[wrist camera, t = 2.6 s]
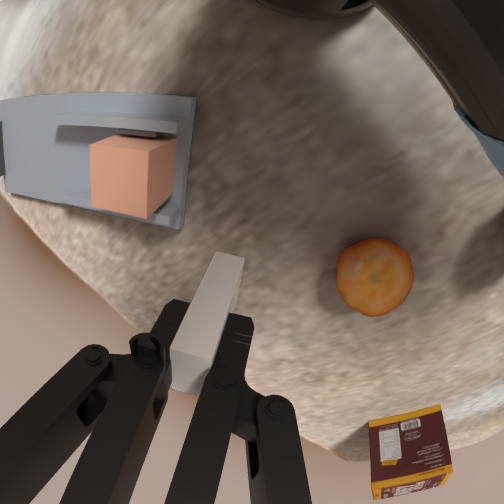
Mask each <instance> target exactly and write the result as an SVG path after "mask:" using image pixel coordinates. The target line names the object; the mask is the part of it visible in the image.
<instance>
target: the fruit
mask: <svg viewBox="0 0 504 504" xmlns="http://www.w3.org/2000/svg"><path fill="white" fill-rule="evenodd" d="M413 280H414V274H413V267H412V262H411V258H410V256H409V255H408V253H407V252H406V251H405V250H404V249H403V248H401V247H400V246H399V245H397V244H396V243H394V242H391V241H389V240H387V239H384V238H371V239H366V240H362V241H360V242H358V243H356V244H354V245H352V246H349V247H347V248H345V249H344V250H343V252H342V253H341V254H340V256H339V258H338V263H337V276H336V284H337V289H338V290H339V292H340V294H341V296H342V299H343V300H344V302H345V303H346V304H347V305H348V306H350V307H351V308H354V309H356V310H357V311H359V312H360V313H362V314H364V315H366V316H369V317H375V316H381V315H383V314H386V313H388V312H390V311H392V310H393V309H395V308H397V307H398V306H399V305H400V304H402V303H403V301H404V300H405V298H406V297H407V295H408V294H409V292H410V291H411V289H412V285H413Z"/></svg>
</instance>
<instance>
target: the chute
mask: <svg viewBox="0 0 504 504" xmlns="http://www.w3.org/2000/svg"><path fill="white" fill-rule="evenodd" d="M196 102H197V97H188V96H178V95H165V94H149V93H123V92H89V93H63V94H49V95H37V96H27V97H19V98H11V99H5V100H1V101H0V176H2V175H3V176H4V184H5V191H6V192H10V193H14V194H19V195H23V196H28V197H33V198H37V199H42V200H46V201H51V202H55V203H60V204H64V205H69V206H74V207H78V208H83V209H87V210H92V211H96V212H101V213H105V214H110V215H114V216H119V217H123V218H128V219H132V220H137V221H141V222H145V223H150V224H154V225H159V226H163V227H168V228H172V229H177V230H180V228H181V227H182V226H183V225H184V216H185V203H186V191H187V180H188V169H189V160H190V150H191V141H192V133H193V125H194V117H195V109H196ZM116 134H127V135H137V136H146V137H155V138H156V137H158V136H160V135H162V136H170V137H177V144H176V155H175V167H174V180H173V194H172V195H171V196H170V197H169V198H168V199H167V200H166V201H165V202H164V203H163V204H162V205H160V206H159V207H158V208H157V209H156V210H155V211H154V212H153V213H152V214H151V215H150V216H149V217H148V218H147V219H145V218H141V217H136V216H132V215H127V214H123V213H118V212H113V211H109V210H104V209H99V208H95V207H92V200H91V181H90V144H93V143H95V142H98V141H100V140H103V139H105V138H108V137H111V136H113V135H116Z"/></svg>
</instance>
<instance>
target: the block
mask: <svg viewBox="0 0 504 504" xmlns="http://www.w3.org/2000/svg"><path fill="white" fill-rule="evenodd" d="M176 144H177V137H170V136H162V135H160V136H158V137H156V138H155V137H146V136H137V135H127V134H116V135H113V136H111V137H108V138H105V139H103V140H100V141H98V142H95V143H93V144H90V181H91V200H92V207H95V208H99V209H104V210H109V211H113V212H118V213H123V214H127V215H132V216H136V217H141V218H145V219H147V218H148V217H149V216H150V215H151V214H152V213H153V212H154V211H155V210H156V209H157V208H158V207H159V206H160V205H162V204H163V203H164V202H165V201H166V200H167V199H168V198H169V197H170V196H171V195H172V194H173V180H174V167H175V155H176Z"/></svg>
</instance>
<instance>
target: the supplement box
mask: <svg viewBox="0 0 504 504" xmlns="http://www.w3.org/2000/svg"><path fill="white" fill-rule="evenodd" d="M368 423H369V438H370V459H371V490H372V494H373V500H378V499H383V498H389V497H394V496H399V495H403V494H407V493H412V492H417V491H421V490H425V489H429V488H432V487H436V486H440V485H443V484H445V482H446V481H447V479H448V478H449V477H450V475H451V474H452V473H453V469H452V463H451V456H450V450H449V445H448V439H447V434H446V429H445V424H444V420H443V415H442V410H441V405H440V404H439V405H436V406H432V407H429V408H425V409H421V410H417V411H413V412H409V413H405V414H401V415H396V416H392V417H387V418H382V419H377V420H372V421H369V422H368Z"/></svg>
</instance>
